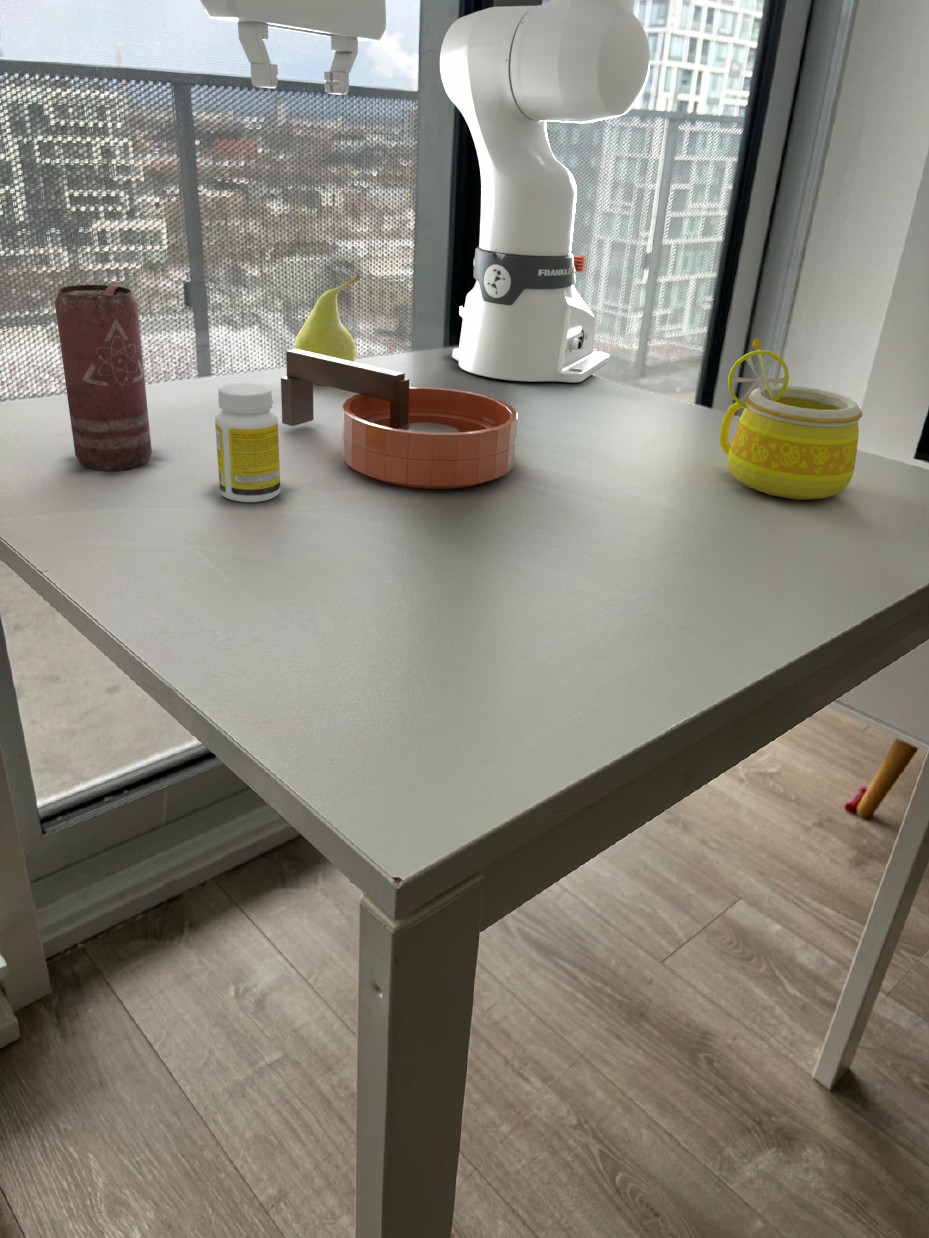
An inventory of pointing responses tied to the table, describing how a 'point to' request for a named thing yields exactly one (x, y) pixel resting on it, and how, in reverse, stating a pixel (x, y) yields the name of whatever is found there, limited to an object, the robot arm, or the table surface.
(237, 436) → the supplement bottle
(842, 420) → the mug
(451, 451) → the bowl
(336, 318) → the fruit
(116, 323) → the can
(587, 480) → the table surface
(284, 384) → the brown bridge
